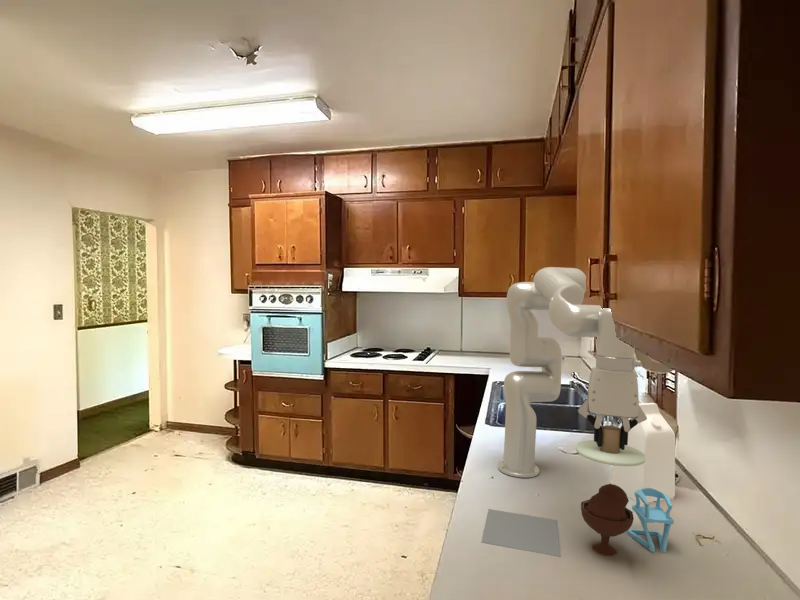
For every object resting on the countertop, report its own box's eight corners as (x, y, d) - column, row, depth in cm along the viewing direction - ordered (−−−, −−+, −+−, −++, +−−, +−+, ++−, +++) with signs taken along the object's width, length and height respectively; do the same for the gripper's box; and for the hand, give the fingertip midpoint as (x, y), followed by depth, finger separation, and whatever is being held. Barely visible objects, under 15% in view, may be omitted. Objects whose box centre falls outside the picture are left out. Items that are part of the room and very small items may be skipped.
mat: (488, 511, 125) (488, 508, 125) (557, 522, 120) (557, 520, 120) (481, 544, 108) (481, 542, 108) (560, 559, 104) (561, 556, 104)
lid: (573, 440, 115) (574, 416, 115) (637, 448, 111) (639, 423, 111) (578, 460, 102) (580, 433, 102) (651, 470, 98) (653, 442, 98)
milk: (642, 482, 147) (647, 398, 146) (674, 499, 136) (680, 408, 136) (610, 486, 143) (615, 399, 143) (641, 503, 133) (646, 410, 132)
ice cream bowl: (586, 533, 115) (590, 471, 114) (637, 551, 108) (641, 485, 107) (570, 551, 107) (574, 485, 106) (624, 572, 100) (628, 501, 99)
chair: (641, 551, 108) (644, 499, 108) (626, 532, 116) (629, 483, 116) (676, 554, 108) (680, 501, 107) (658, 534, 116) (662, 485, 116)
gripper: (652, 364, 107) (647, 446, 108) (572, 358, 112) (568, 436, 112) (660, 370, 100) (656, 457, 101) (575, 363, 105) (571, 447, 105)
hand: (610, 445), depth 107 cm, fingers closed on lid, 4 cm apart
